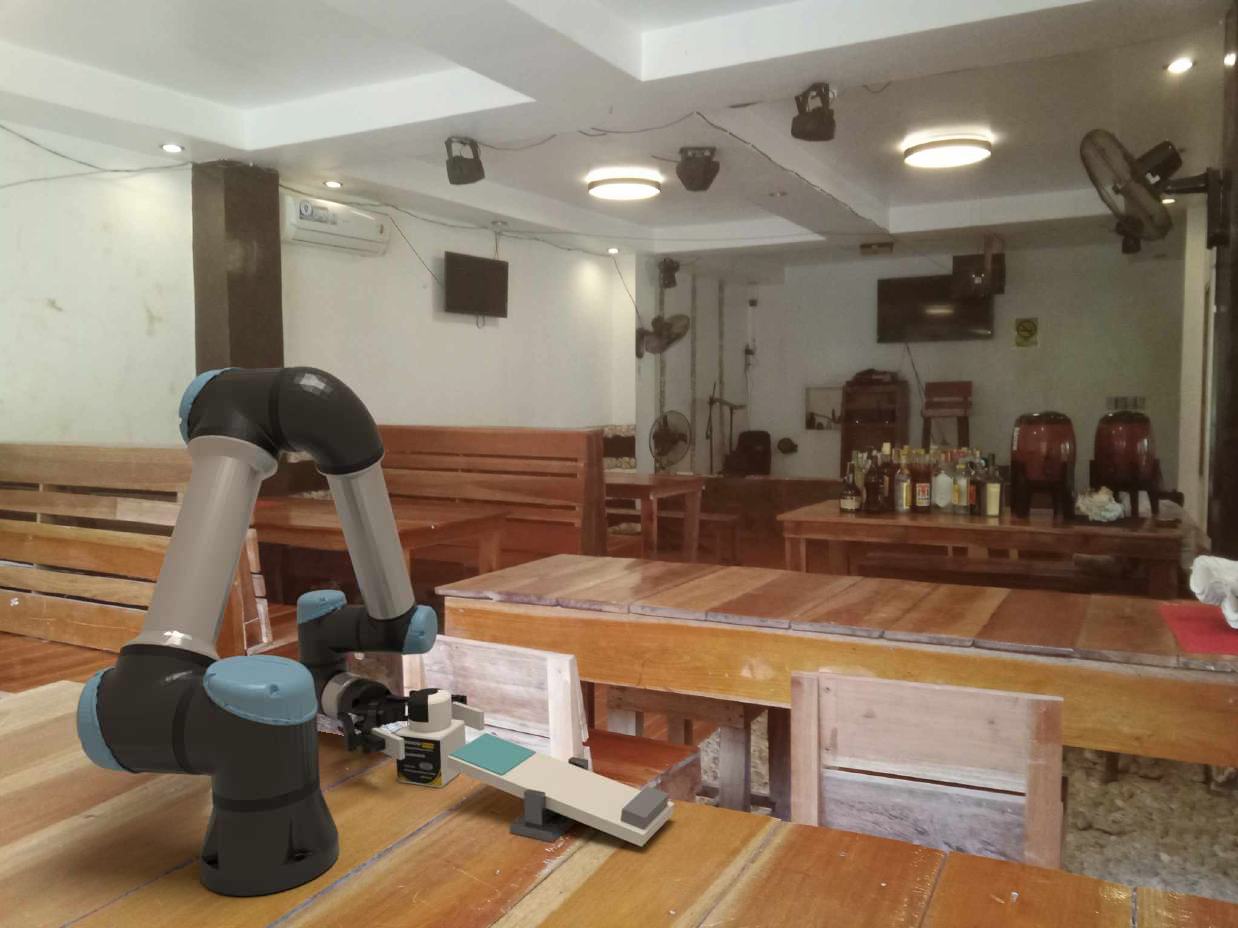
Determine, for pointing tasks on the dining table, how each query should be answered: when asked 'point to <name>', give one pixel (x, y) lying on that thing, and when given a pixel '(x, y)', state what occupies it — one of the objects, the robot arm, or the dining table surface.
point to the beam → (565, 787)
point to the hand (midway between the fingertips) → (443, 734)
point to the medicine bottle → (429, 739)
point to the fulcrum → (543, 814)
